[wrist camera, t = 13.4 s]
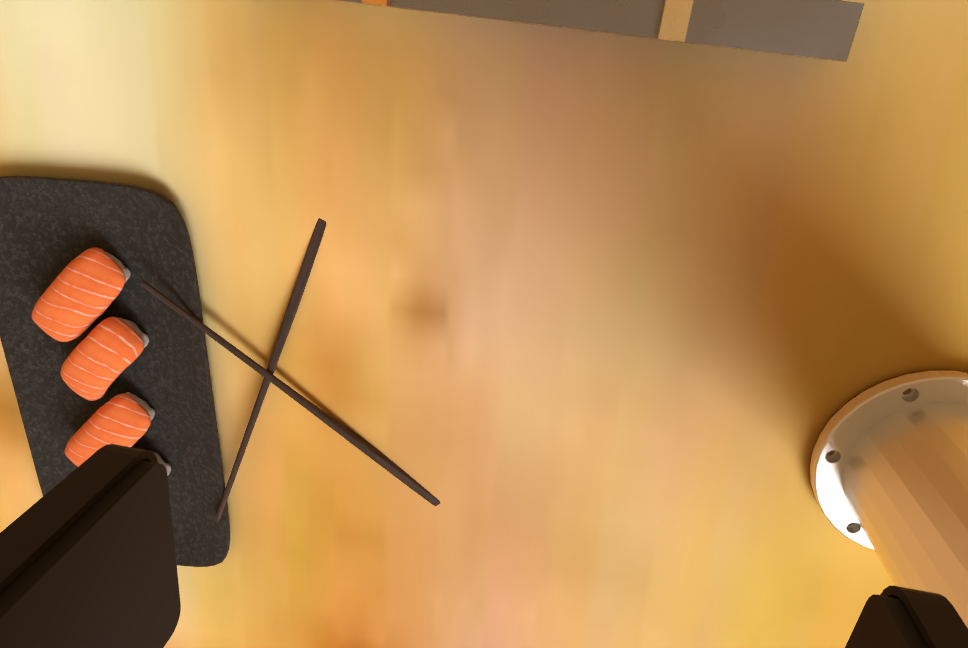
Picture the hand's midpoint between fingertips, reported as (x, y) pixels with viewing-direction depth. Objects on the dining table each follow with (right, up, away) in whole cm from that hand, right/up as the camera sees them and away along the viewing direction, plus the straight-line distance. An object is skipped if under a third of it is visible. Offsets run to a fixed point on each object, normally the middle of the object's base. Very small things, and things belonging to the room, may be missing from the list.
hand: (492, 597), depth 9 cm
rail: (+2, +20, +24) cm, 32 cm away
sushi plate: (-17, -1, +37) cm, 41 cm away
